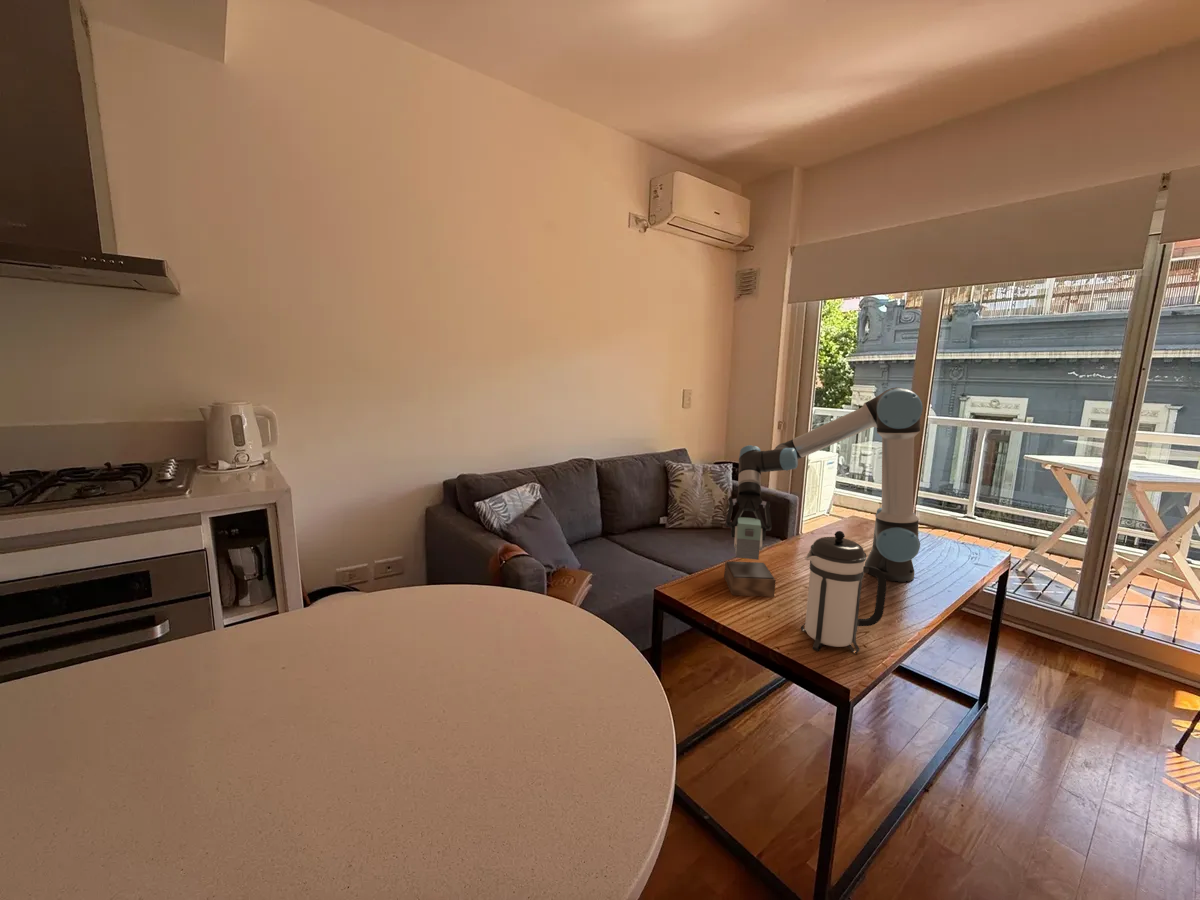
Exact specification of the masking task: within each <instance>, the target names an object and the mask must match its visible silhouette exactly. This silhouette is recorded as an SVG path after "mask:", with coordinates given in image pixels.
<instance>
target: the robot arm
mask: <svg viewBox="0 0 1200 900" xmlns="http://www.w3.org/2000/svg"><path fill="white" fill-rule="evenodd" d="M923 407H924V406H923V402H922V400H921V398H920V396H919V395H918V394H917V393H916V392H914V391H913V390H911V389H908V388H906V387H905V388H904V387H892V388H889V389H886V390H885V391H883V392H881V393H880V394H879V395H876V396H875V397H874V398H871V399H869V400H868V401H866V402H864V403H863V405H862V407H859V408H858V409H855V410H854V411H851V412H848V413H847V414H844V415H842V416H840V417H838V418H836V419H834V420H832V421H831V420H830V421H829V422H827V423H824V424H822V425H819V426H818V427H816V428H814V429H812V430H810V431H807V432H804V433H803V434H801V435H799V436H796V437H795V438H793V439H791V440H788V441H786V442H782V443H779V444H778V445H777V446H775V448H774V449H768V450H761V448H760V447H759V446H757V445H751V444H749V445H745V446H743V447H741V448H740V451H739V456H738V479H737V480H738V481H737V483H738V484H737V497H736V498H732V497H729V498H728V509H727V511H728V512H727V516H726V520H725V527H727V528H730V537H731V538H733V539H734V542H733V548H734V549H736V548H737V529H738V526H737V522H738V518H739V517H742V515H743V514H744V512H750V513H751V512H752V513H753V514H754V517H755V518H757V519H759V520H760V522H761V535H760V547H759V552H760V551H762V550H763V541H766V538H767V531H768V532H770V531H771V530H772V527H773V525H772V516H771V510H770V506H771V501H769V500H767V501H765V500H763V498H762V497H761V495H762V492H761V489H762V487H761V486H762V482H761V481H762V474H761V473H768V472H781V471H785V472H786V471H790V470H795V469H797V468H798V465H799V460H800V459H802V458H804V457H806V456H809V455H811V454H814V453H816V452H818V451H821V450H823V449H826V448H828V447H829V446H833V445H835V444H837V443H839V442H842V441H843V440H846V439H849V438H851V437H853V436H856V435H857V434H858V435H859V434H860V433H862V432H865V431H867V430H869V429H870V430H871V429H872V428H876V433H877V434H878V435H879V436H880V437H881V442H882V443H881V507H879V508H877V510H876V513H875V515H874V516H875V521H874V522H875V523H874V529H873V539H872V547H871V551H870V552H869V554H868V556H867V557H866V560H865V562H864V566H872V567H875V568H878V569H879V570H880V571H881V572H882V573H883V574H884V576H885V578H886V581H889V580H890V582H895V581H898V582H897V583H907V582H906V581H908V582H912V581H913V580H914V579H913V578H915V569H914V564H913V559H914V558H916V556H917V555H918V554H919V552H920V548H921V541H920V538H919V517H918V516H917V514H916V513H915V512H914V472H915V470H914V469H915V468H914V466H915V465H914V464H915V463H914V462H915V461H914V459H915V437H916V436H917V435H918V434H919V433H921V417H922V415H923V414H922V413H923V409H924V408H923ZM736 504H737V505H738V506H739V508H738V510H737V512H736V514H735V516H734V518H733V521H731V520H732V515H733V510H734V506H735V505H736ZM761 505H762V508H763V509H764V516H765V517H764V518H765V521H764V519H763V517H762V514H761V511H760V508H759V507H760V506H761ZM870 576H873V577H875V578H877V577H876V576H875V575H874V574H870ZM912 579H913V580H912ZM911 580H912V581H911Z"/></svg>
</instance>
